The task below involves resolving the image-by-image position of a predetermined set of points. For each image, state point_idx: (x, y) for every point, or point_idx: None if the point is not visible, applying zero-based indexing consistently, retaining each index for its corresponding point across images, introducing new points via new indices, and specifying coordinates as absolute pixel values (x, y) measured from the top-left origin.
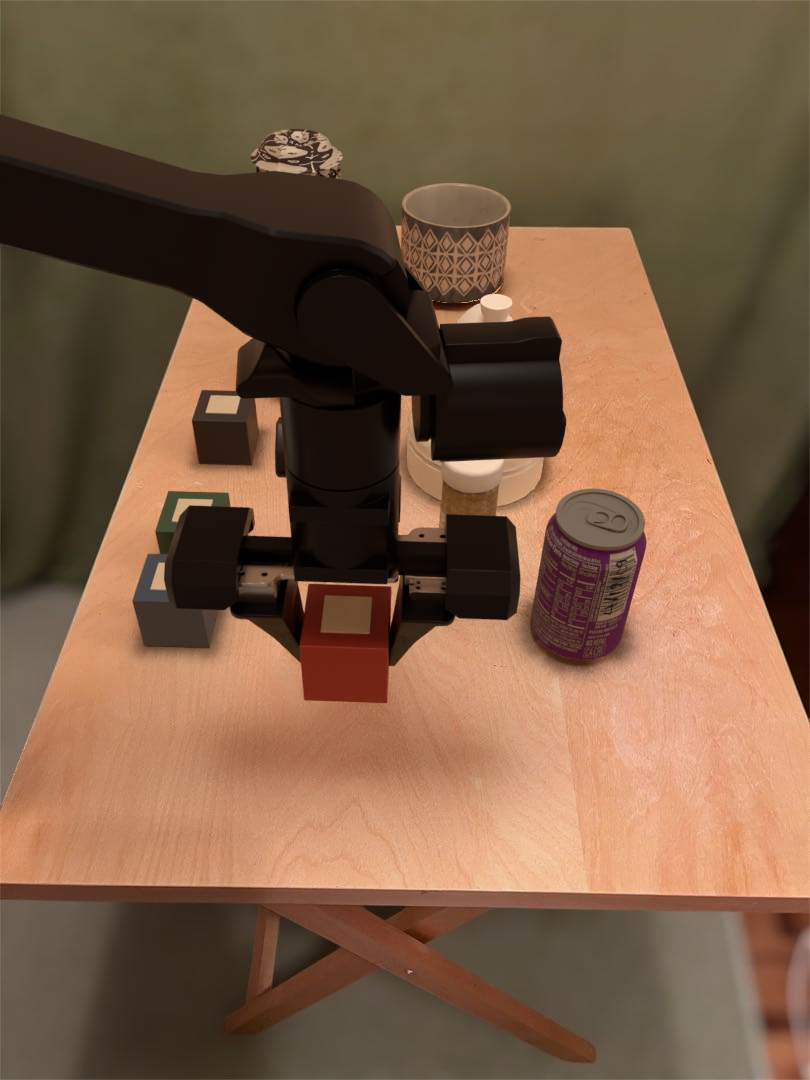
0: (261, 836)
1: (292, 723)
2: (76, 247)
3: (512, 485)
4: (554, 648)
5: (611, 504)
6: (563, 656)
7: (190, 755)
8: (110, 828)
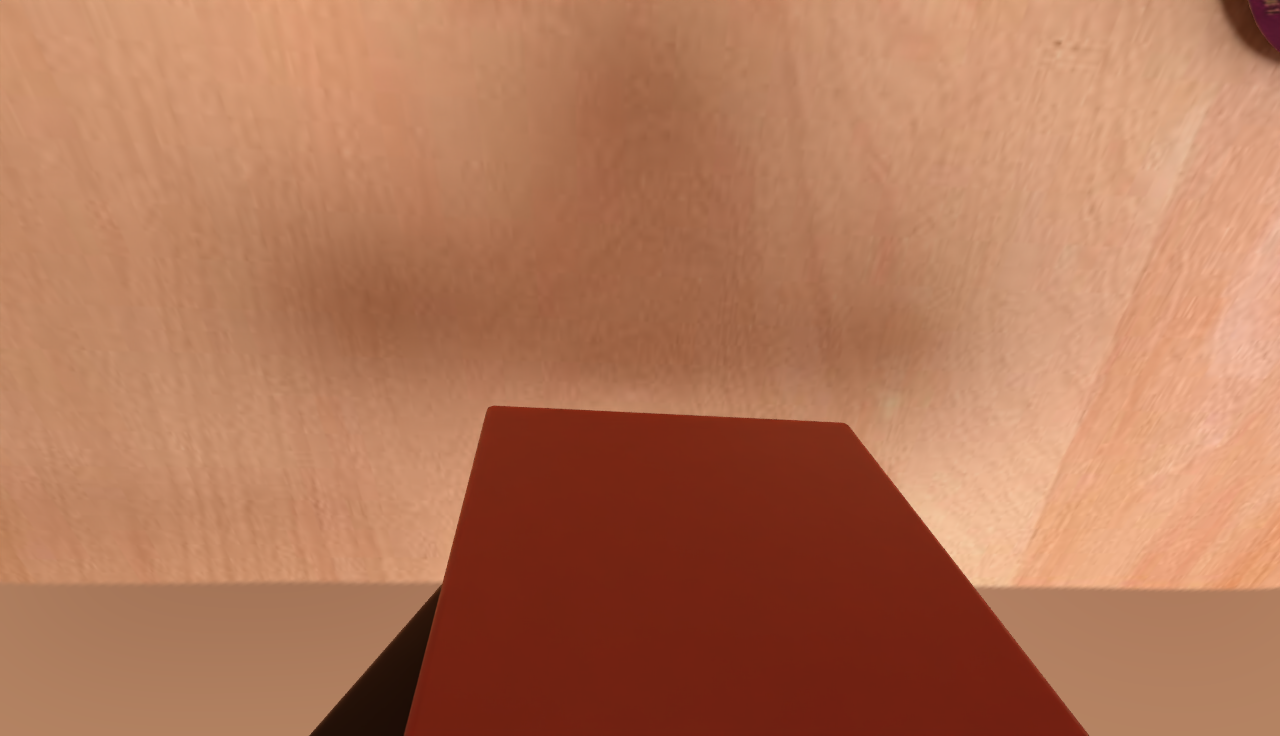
0: (427, 509)
1: (457, 229)
2: None
3: None
4: (1278, 28)
5: None
6: (1278, 50)
7: (197, 318)
8: (81, 493)
